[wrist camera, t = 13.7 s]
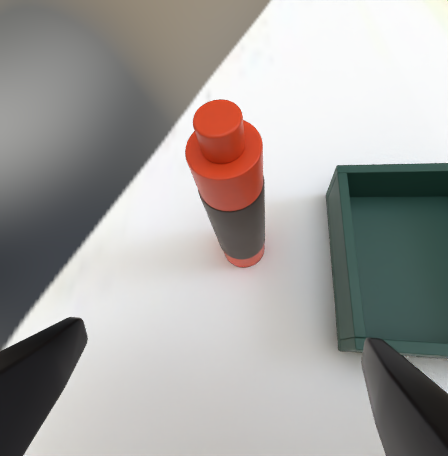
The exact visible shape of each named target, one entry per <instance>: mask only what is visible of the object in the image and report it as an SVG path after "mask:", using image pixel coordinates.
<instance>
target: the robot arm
mask: <svg viewBox="0 0 448 456" xmlns="http://www.w3.org/2000/svg"><path fill="white" fill-rule="evenodd" d="M87 340H88V337H87V333H86V329H85V325H84V322H83V320H82V319H81V318H77V317H69V318H66V319H64V320H62V321H60V322H58V323H56V324H54V325H52V326H50V327H48V328H46V329H44V330H42V331H40V332H38V333H36V334H34V335H32V336H30V337H28V338H26V339H24V340H22V341H20V342H18V343H16V344H14V345H12V346H10V347H8V348H6V349H4V350H2V351H0V456H23V455H24V453H25V452H26V450H27V448H28V447H29V445H30V443H31V442H32V440H33V439H34V437H35V435H36V434H37V432H38V431H39V429H40V427H41V426H42V424H43V422H44V421H45V419H46V418H47V416H48V414H49V413H50V411H51V409H52V408H53V406H54V405H55V403H56V401H57V400H58V398H59V396H60V395H61V393H62V391H63V390H64V388H65V386H66V384H67V382H68V380H69V378H70V376H71V374H72V372H73V370H74V368H75V366H76V364H77V362H78V360H79V358H80V356H81V354H82V352H83V350H84V348H85V346H86V344H87ZM362 369H363V373H364V378H365V382H366V386H367V391H368V395H369V399H370V404H371V408H372V412H373V416H374V420H375V424H376V427H377V430H378V433H379V436H380V439H381V442H382V445H383V448H384V451H385V454H386V456H448V394H447V393H446V392H445V391H444V390H443V389H441V388H440V387H439V386H438V385H437V384H435V383H434V382H433V381H432V380H431V379H430V378H428V377H427V376H426V375H425V374H424V373H422V372H421V371H420V370H419V369H418V368H416V367H415V366H414V365H413V364H412V363H410V362H409V361H408V360H407V359H406V358H404V357H403V356H402V355H401V354H400V353H398V352H397V351H396V350H395V349H394V348H392V347H391V346H390V345H389V344H388V343H387V342H385V341H384V340H383V339H381V338H370V337H368V338H366V339H365V342H364V348H363V354H362Z"/></svg>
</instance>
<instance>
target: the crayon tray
mask: <svg viewBox="0 0 448 456" xmlns="http://www.w3.org/2000/svg"><path fill="white" fill-rule="evenodd" d="M326 202H327V214H328V226H329V239H330V251H331V263H332V275H333V287H334V300H335V312H336V324H337V336H338V349H339V351H347V352H361V353H363V348H364V342H365V339H366V338H368V337H370V338H381V339H383V340H384V341H385V342H387V343H388V344H389V345H390V346H391V347H392V348H394V349H395V350H396V351H397V352H398V353H400V354H401V355H403V356H417V357H431V358H445V359H448V163H431V164H384V165H337V166H336V169H335V172H334V174H333V177H332V180H331V183H330V185H329V188H328V191H327V193H326Z"/></svg>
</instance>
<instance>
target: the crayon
mask: <svg viewBox="0 0 448 456" xmlns="http://www.w3.org/2000/svg"><path fill="white" fill-rule="evenodd" d="M193 127H194V130H195V131H194V132H193V134H192V135H191V136H190V138H189V140H188V142H187V145H186V150H185V155H186V160H187V163H188V165H189V168H190V170H191V173H192V175H193V178H194V180H195V182H196V185H197V187H198V191H199V195H200V197H201V200H202V202H203V205H204V207H205V209H206V212H207V214H208V217H209V219H210V222H211V224H212V226H213V229H214V231H215V234H216V236H217V238H218V241H219V243H220V246H221V248H222V250H223V251H224V253H225V256H226V258H227V259H228V261H229V262H231V263H232V264H233V265H235V266H238V267H249V266H252V265H254V264H256V263H257V262H258V261H259V260H260V259H261V258H262V256H263V253H264V242H265V203H264V176H263V144H262V139H261V136H260V134H259V132H258V131H257V130H256V128H255V127H254V126H253V125H251V124H250V123H248V122H246V121H244V120H243V116H242V112H241V110H240V108H239V107H238V106H237V105H236V104H235V103H233V102H231V101H228V100H213V101H210V102H207V103H205V104H204V105H202V106H201V107H200V108H199V109H198V110H197V111H196V113H195V115H194V118H193Z"/></svg>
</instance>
